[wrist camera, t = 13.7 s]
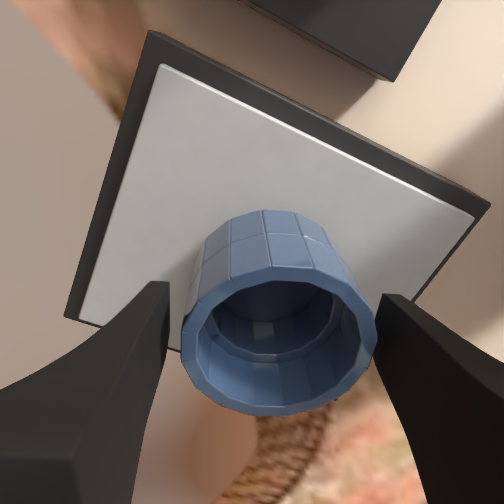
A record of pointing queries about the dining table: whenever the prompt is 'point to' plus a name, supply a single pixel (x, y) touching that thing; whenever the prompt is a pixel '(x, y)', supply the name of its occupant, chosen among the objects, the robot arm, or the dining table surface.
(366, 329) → the cup
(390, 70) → the block
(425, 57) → the dining table surface
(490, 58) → the dining table surface
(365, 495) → the dining table surface
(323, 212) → the scale
